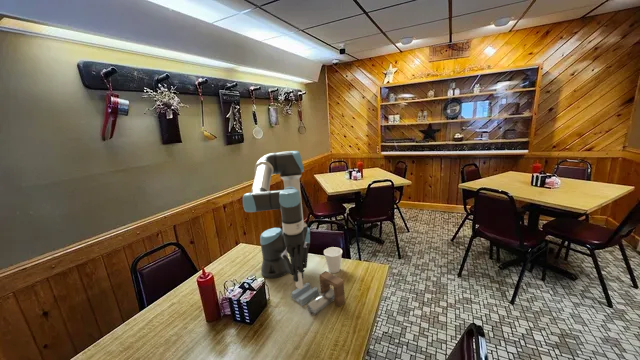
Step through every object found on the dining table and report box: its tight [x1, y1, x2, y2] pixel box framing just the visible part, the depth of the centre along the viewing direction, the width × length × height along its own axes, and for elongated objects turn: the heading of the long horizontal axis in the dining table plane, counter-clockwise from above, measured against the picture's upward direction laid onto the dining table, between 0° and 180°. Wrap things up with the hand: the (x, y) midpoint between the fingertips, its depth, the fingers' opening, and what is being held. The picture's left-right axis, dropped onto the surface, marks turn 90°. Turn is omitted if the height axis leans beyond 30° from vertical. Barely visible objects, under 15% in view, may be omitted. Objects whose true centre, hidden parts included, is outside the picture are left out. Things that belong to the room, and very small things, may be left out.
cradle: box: [290, 282, 320, 307], centre depth 117 cm, size 8×10×3 cm
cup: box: [323, 246, 343, 274], centre depth 135 cm, size 10×10×11 cm
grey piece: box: [306, 287, 335, 316], centre depth 110 cm, size 13×5×5 cm, turn 134°
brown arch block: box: [319, 270, 346, 308], centre depth 113 cm, size 11×4×11 cm, turn 44°
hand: (299, 287), depth 99 cm, fingers closed
